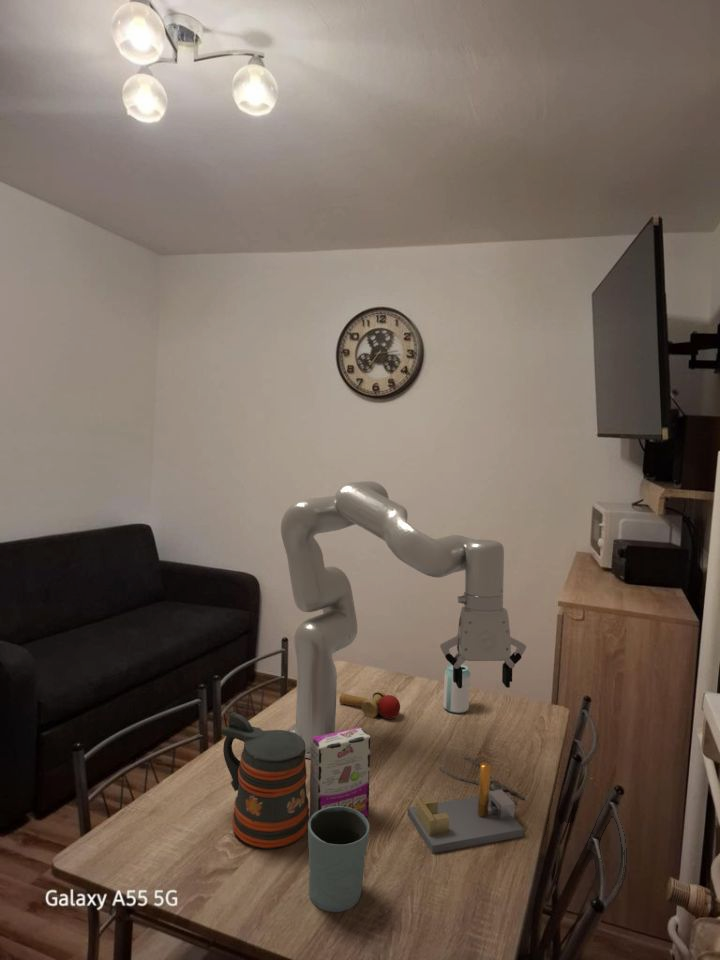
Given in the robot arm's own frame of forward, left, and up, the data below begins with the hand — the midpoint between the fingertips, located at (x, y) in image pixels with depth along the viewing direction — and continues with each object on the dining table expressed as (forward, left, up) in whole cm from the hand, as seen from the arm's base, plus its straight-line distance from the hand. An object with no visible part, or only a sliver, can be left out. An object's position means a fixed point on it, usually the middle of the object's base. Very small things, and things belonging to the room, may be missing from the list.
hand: (482, 685), depth 127 cm
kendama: (-7, +47, -26) cm, 55 cm away
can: (+17, +43, -26) cm, 53 cm away
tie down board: (-5, -5, -26) cm, 27 cm away
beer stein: (-43, +6, -26) cm, 51 cm away
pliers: (+8, +9, -26) cm, 29 cm away
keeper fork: (-12, -5, -24) cm, 28 cm away
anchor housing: (+3, -5, -24) cm, 25 cm away
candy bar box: (-28, +4, -26) cm, 39 cm away
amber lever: (+1, -5, -24) cm, 25 cm away
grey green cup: (-34, -16, -26) cm, 46 cm away
